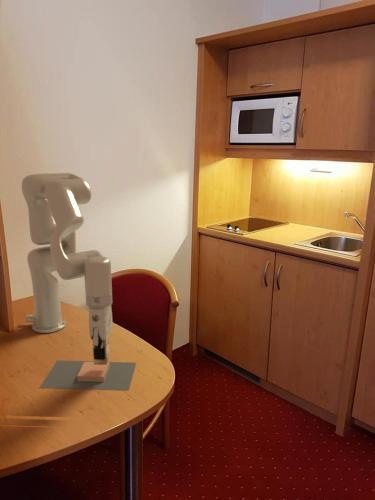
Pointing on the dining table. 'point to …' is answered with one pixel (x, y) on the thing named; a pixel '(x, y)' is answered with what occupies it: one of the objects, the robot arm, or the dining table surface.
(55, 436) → the dining table surface
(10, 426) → the dining table surface
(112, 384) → the mat
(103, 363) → the light wood block
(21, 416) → the dining table surface
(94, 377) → the tile
